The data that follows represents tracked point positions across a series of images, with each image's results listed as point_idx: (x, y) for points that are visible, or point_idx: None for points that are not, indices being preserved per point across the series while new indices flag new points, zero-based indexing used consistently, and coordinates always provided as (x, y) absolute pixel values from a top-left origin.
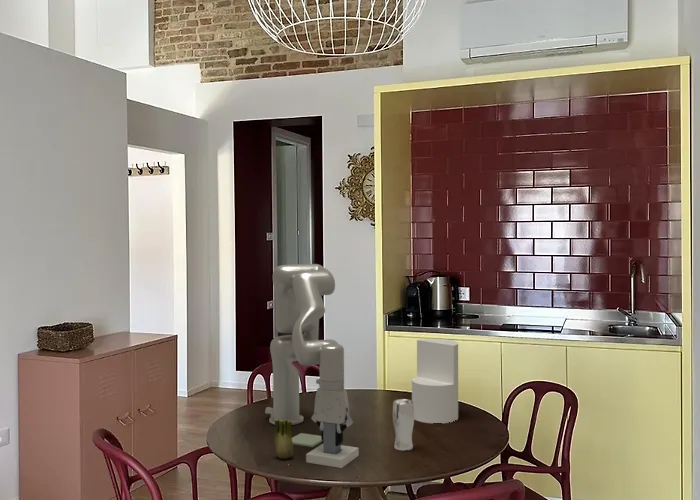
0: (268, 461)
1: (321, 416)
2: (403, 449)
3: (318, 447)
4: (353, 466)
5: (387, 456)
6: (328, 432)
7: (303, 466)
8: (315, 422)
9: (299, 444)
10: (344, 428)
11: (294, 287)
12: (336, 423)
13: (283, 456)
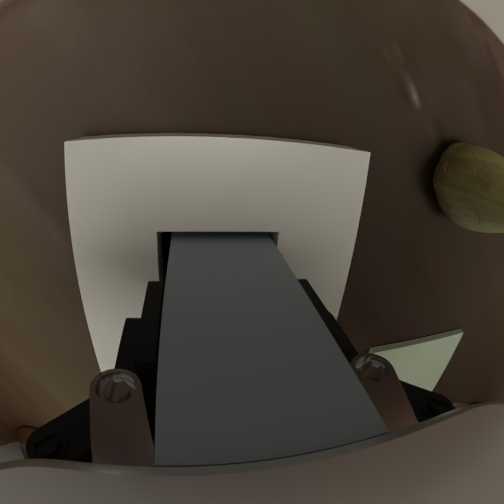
0: (486, 115)
1: (472, 491)
2: (22, 429)
3: (332, 299)
4: (41, 200)
5: (16, 375)
6: (260, 345)
7: (332, 74)
8: (455, 403)
9: (421, 340)
10: (48, 426)
11: None
12: (81, 468)
13: (461, 144)
